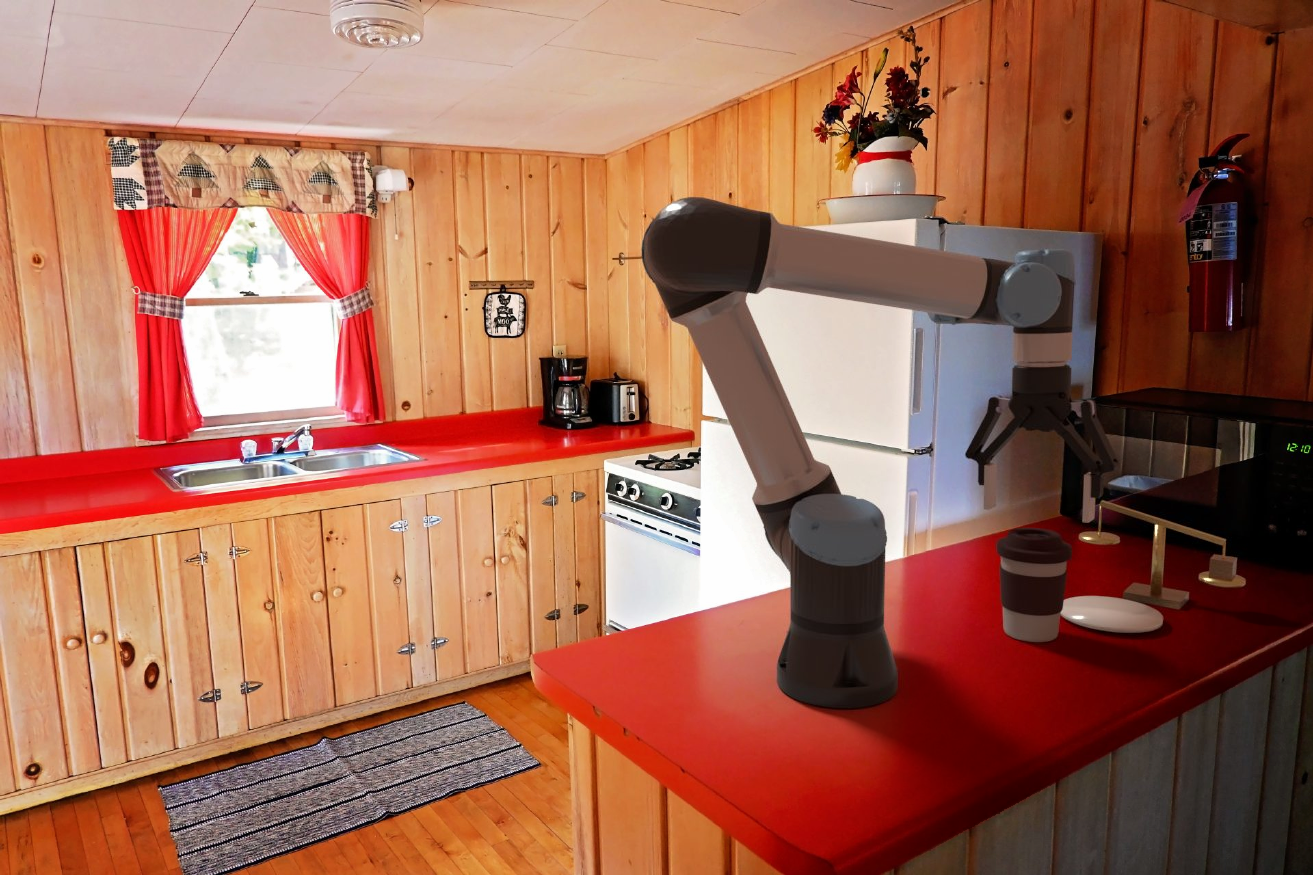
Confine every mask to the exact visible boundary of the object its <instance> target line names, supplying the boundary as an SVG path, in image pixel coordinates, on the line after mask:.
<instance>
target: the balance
mask: <svg viewBox="0 0 1313 875" xmlns="http://www.w3.org/2000/svg"><path fill="white" fill-rule="evenodd" d="M1102 508H1105V509H1108V510H1111V511H1114V512H1118V513H1121V514H1124V515H1127V516H1130V517H1132V518H1136V519H1139V520H1142V521H1145V522H1148V523H1151V524H1154V527H1153V528H1154V529H1153V540H1152V544H1153V545H1152V556H1151V557H1152V559H1151V575H1150V576H1151V577H1150V584H1144V583H1138V582H1133V583H1132V584H1130V585H1129V586H1128V587H1127V588H1126V589H1125V590H1124V591H1123V593H1122V599H1125V600H1130V601H1134V602H1138V603H1141V604H1148V605H1152V606H1158V607H1164V608H1168V609H1169V608H1170V609H1174V610H1175V609H1176V610H1179V611H1180V609H1181V608H1182V607H1183V606H1184V605H1185V604H1187V602H1188V601H1189V598H1190V592H1189V591H1184V590H1180V589H1179V590H1178V589H1173V588H1168V587H1163V584H1164V583H1163V581H1164V580H1163V579H1164V566H1165V565H1164V563H1165V548H1166V547H1165V546H1166V531H1167V529H1170V530H1173V531H1176V532H1180V533H1183V534H1185V535H1189V536H1192V537H1193V538H1199V539H1201V540H1204V541H1208V542H1211V543H1214V544H1216V545H1219V546H1222V554H1215V553H1214V554H1213V555H1212V556H1211V557H1210V558H1209V567H1208V568H1209V569H1208V571H1203V572H1200V573H1199V574H1198V580H1199V581H1200V582H1202V583H1205V584H1207V585H1210V586H1215V587H1221V588H1242V587H1245V585H1246V581H1247V580H1246V578H1244V577H1243V576H1241V575H1238V574H1237V562H1238V557H1236V556H1235V557H1234V556H1228V555H1226V545H1227V542H1226V541H1227V539H1226V538H1223V537H1220V536H1216V535H1214V534H1210V533H1207V532H1204V531H1201V530H1198V529H1194V528H1192V527H1187V526H1185V525H1182V524H1178V523H1176V522H1172V521H1170V520H1166V519H1163V518H1160V517H1157V516H1153V515H1150V514H1148V513H1147V514H1146V513H1144V512H1141V511H1138V510H1135V509H1131V508H1129V507H1126V506H1122V505H1119V504H1115V503H1113V502H1110V501H1106V500H1104V499H1103V500H1101V501H1100V503H1099V517H1098V531H1083V532H1081V533H1079V534H1078V540H1080V541H1081V542H1084V543H1087V544H1088V543H1089V544H1092V545H1100V546H1101V545H1104V546H1108V545H1109V546H1112V545H1118V544H1119V543H1120V542H1121V540H1120V539H1121V538H1120V536H1119V535H1116V534H1114V533H1110V532H1105V531H1104V532H1103V531H1101V529H1102V513H1103V512H1102V511H1103V510H1102Z"/></svg>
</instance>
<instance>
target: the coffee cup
mask: <svg viewBox="0 0 1313 875" xmlns="http://www.w3.org/2000/svg"><path fill="white" fill-rule="evenodd" d="M996 553H997V554H998V556H1000V565H999V582H1000V583H999V584H1000V587H999V588H1000V590H999V591H1000V604H1001V606H1002V621H1003V622H1002V623H1003V624H1002V625H1003V631H1004V632H1005V634H1006V635H1008V636H1009V637H1010V638H1013V639H1016V640H1019V641H1023V642H1028V643H1029V642H1030V643H1046V642H1050V641H1054V640H1055V639H1057V637H1058V635H1059V630H1060V629H1059V627H1060V619H1061V615H1060V613H1061V611H1062V609H1063V602H1064V600H1065V594H1066V593H1065V592H1066V586H1067V576H1068V571H1067V562H1068V561H1070V560H1071V559H1072V557H1073V547H1072V545H1071V543H1070V544H1069V543H1068V542H1066V541H1063V539H1062V537H1061V535H1060V533H1059V532H1056V531H1054V530H1050V529H1045V528H1040V527H1039V528H1037V527H1020V528H1019V527H1018V528H1013V529H1011V530H1010V531H1008V534H1007V535H1006V536H1004V537H1002V538H999V539H998V540H997V541H996Z"/></svg>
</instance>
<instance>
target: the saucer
mask: <svg viewBox="0 0 1313 875" xmlns="http://www.w3.org/2000/svg"><path fill="white" fill-rule="evenodd" d="M1060 617H1062V618H1064V619H1065V620H1067V621H1069V622H1071V623H1073V624H1075V625H1079V626H1082V627H1085V628H1089V629H1093V630H1098V631H1105V632H1111V633H1121V634H1122V633H1123V634H1124V633H1125V634H1126V633H1127V634H1137V633H1145V632H1146V633H1148V632H1152V631H1155V630H1158V629H1161V627H1162V626H1163V623H1164V622H1163V621H1164V616H1163V615H1162V613H1161V612H1160V611H1158V610H1157V609H1155V608H1153V607H1151V606H1149V605H1146V604H1145V603H1141V602H1136V601H1131V600H1125V599H1123V598H1119V597H1113V596H1112V597H1111V596H1103V595H1102V596H1101V595H1100V596H1099V595H1082V596H1074V597H1069V598H1066V599H1065V598H1064V602H1063V609H1062V611H1061V613H1060Z"/></svg>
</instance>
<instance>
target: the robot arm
mask: <svg viewBox="0 0 1313 875" xmlns="http://www.w3.org/2000/svg"><path fill="white" fill-rule="evenodd" d="M644 232H645V233H644V234H643V239H642V241H641V249H640V250H641V260H642V265H643V268H644V270H645V274H647V276H648V278H649V279H650V280H651V281H652V283H653V284H654V285H655V287H656V289H657V292H658V294H659V296H660V298H661V301H662V303H663V305H664V307H665V309H666V311H667V313H668V316H669V319H670V320H671V321H672V322H674V323H676V324H678V325H680V326H684V327H686V329H687V330H688V333H689V335H690V337H691V340H692V342H693V344H694V346H695V348H696V350H697V352H698V355H699V357H700V359H701V361H702V365H703V366H704V369H705V370H706V373H707V375H708V377H709V380H710V381H711V384H712V386H713V390H714V391H715V393H716V396H717V397H718V399H719V402H720V404H721V407H722V408H723V411H724V413H725V415H726V418H727V420H728V422H729V425H730V426H731V429H732V431H733V434H734V435H735V438H736V440H737V443H738V445H739V446H740V449H741V451H742V453H743V456H744V458H745V460H746V463H747V465H748V467H749V469H750V472H751V473H752V476H753V478H754V480H755V483H756V487H755V489H754V492H753V495H752V497H751V500H752V502H753V505H754V507H755V509H756V511H757V514H758V515H759V518H760V521H761V522H762V524H763V530H764V535H765V539H766V540H767V543H768V545H769V547H770V549H772V550H771V551H773V552H774V553H775V555H776V556H777V557H778V558H779V559H780V561H781V562H782V563H783V564H784V566H785V567H786V569H787V571H788V572H789V577H790V579H789V580H790V581H789V582H790V585H789V586H790V587H789V588H790V595H789V596H790V598H789V599H790V606H789V607H790V624H789V627H788V630H787V633H786V636H785V639H784V641H783V644H782V648H781V651H780V653H779V656H778V659H777V662H776V663H777V664H776V683H777V686H778V687H779V689H780V690H781V692H783V693H785V694H786V695H787V696H789V697H790V698H793V699H795V700H797V701H800V702H802V703H806V704H810V705H813V706H819V707H825V708H831V709H859V708H866V707H871V706H875V705H879V704H881V703H884V702H887V701H888V700H889V699H891V698H893V697H894V696H895V694H896V693H897V691H898V683H899V682H898V679H899V678H898V676H899V674H898V672H899V671H898V667H897V664H896V661H895V658H894V654H893V651H892V648H891V646H890V642H889V638H888V635H887V632H886V630H885V597H886V596H885V593H886V592H885V588H886V582H885V581H886V546H887V543H888V535H887V530H886V521H885V520H886V519H885V515H884V513H883V512H882V511H881V509H880V508H879V507H878V506H877V505H876V504H874V503H873V502H872V501H869V500H867V499H864V498H857V497H856V496H854V495H853V496H852V495H851V494H850V495H848V494H844V493H843V494H842V492H841V490H840V488H839V485H838V483H837V481H836V479H835V476H834V474H833V471H832V469H831V467H830V466H829V465H828V464H826V463H824V462H820V461H818V460H817V459H815V458H814V456H813V454H812V453H813V452H812V451H811V449H810V446H809V444H808V442H807V440H806V437H805V435H804V433H803V430H802V428H801V425H800V424H799V421H798V419H797V416H796V415H795V412H794V409H793V408H792V405H791V403H790V401H789V398H788V395H787V393H786V391H785V389H784V387H783V385H782V382H781V380H780V377H779V374H778V373H777V370H776V369H775V368H776V367H775V365H774V363H773V361H772V359H771V356H770V355H769V352H768V349H767V348H766V345H765V343H764V340H763V338H762V336H761V333H760V330H759V328H758V326H757V325H756V321H755V320H754V317H753V315H752V313H751V310H750V308H749V306H748V304H747V296H748V294H752V295H753V294H754V295H758V294H760V293H761V292H762V291H764V290H765V289H767V288H768V289H769V288H770V289H776V290H783V291H789V292H795V293H801V294H802V293H803V294H806V295H807V294H808V295H813V296H822V297H825V298H826V297H827V298H833V299H839V300H840V299H841V300H846V301H853V302H858V303H859V302H860V303H864V304H865V303H866V304H872V305H878V306H884V307H891V308H896V309H904V310H911V311H917V312H923V313H927V315H928V317H929V319H930V320H931V322H933V323H935V324H937V325H952V326H955V325H958V324H961V325H962V324H976V325H978V324H979V325H993V326H997V325H998V326H999V325H1000V326H1007V327H1013V328H1012V332H1013V333H1012V334H1013V336H1012V338H1013V339H1012V361H1014V362H1015V363H1016V365H1013V367H1012V369H1011V370H1012V374H1011V378H1012V379H1011V392H1012V393H1011V397H1010V398H1005V397H1003V396H1002V395H996V396H992V397H989V399H988V402H987V411H986V413H985V415H984V417H983V419H982V421H981V423H980V425H979V426H978V428H977V431H976V432H975V433H974V437H973V438H972V440H971V442H970V443H969V446H968V447H967V449H966V451H965V454H964V455H965V457H966V459H968V460H973V461H974V462H976V463H977V465H978V466H977V467H978V470H977V471H978V473H977V474H978V475H977V482H978V485H979V486H983V510H986V511H990V510H992V509H993V508H995V507H997V474H998V472H997V469H998V466H997V465H998V462H992V461H993V460H994V458H995V457H996V456H997V455H998V453H1000V451H1001V450H1003V448H1005V446H1006V445H1007V444H1008V443H1009V442H1010V441H1011V440H1012V439H1013V438H1014V437H1015V436H1016V435H1017V434H1018V433H1019V432H1020V431H1021V430H1022V429H1024V430H1025V431H1029V432H1032V431H1040V432H1043V433H1044V432H1045V433H1050V432H1052V431H1055V433H1056V434H1057V435H1058V436H1059V437H1061V438H1062V439H1063V440H1064V442H1065V443H1066V444H1067V445H1068V447H1069V448H1070V449H1071V450H1072V452H1073V453H1074V454H1075V455H1076V457H1077V458H1078V459H1079V460H1080V461H1081V463H1082V464H1083V465H1084V466H1085V467H1086V469H1087V470H1088V471H1089V472H1087V473H1085V474H1083V496H1082V523H1088V524H1089V523H1090V522H1091V521H1093V520H1095V514H1096V513H1095V512H1096V499H1099V498H1101V497H1102V496H1103V494H1104V481H1105V474H1106V473H1112V472H1113V471H1115V470H1117V469H1120V468H1119V467H1120V466H1121V465H1120V464H1121V462H1120V461H1119V459H1118V457H1117V455H1116V453H1115V451H1114V449H1113V447H1112V445H1111V442H1110V440H1109V438H1108V436H1107V434H1106V432H1105V430H1104V428H1103V426H1102V423H1101V422H1100V420H1099V418H1098V414H1097V404H1096V401H1095V400H1094V399H1087V400H1085V401H1073V400H1072V398H1071V393H1072V392H1071V391H1072V367H1071V366H1070V365H1069V364H1067V362H1071V361H1072V357H1073V356H1072V354H1073V353H1072V352H1073V326H1074V324H1073V323H1074V305H1075V304H1074V302H1075V300H1074V298H1075V286H1076V273H1075V272H1076V271H1075V257H1074V254H1073V253H1072V252H1071V250H1068V249H1065V248H1054V249H1052V248H1050V249H1033V250H1022V251H1018V252H1017V253H1016V254H1015V258H1014V262H1012V261H1006V260H999V259H995V258H986V257H985V258H984V257H980V256H978V255H977V256H976V255H970V254H964V253H959V252H953V251H946V250H941V249H935V248H928V247H922V246H917V245H911V244H904V243H898V242H893V241H892V242H891V241H887V240H882V239H881V240H880V239H875V238H869V237H863V236H862V237H861V236H857V235H852V234H851V235H850V234H843V233H839V232H832V231H826V230H820V229H815V228H809V227H803V226H796V225H789V224H784V223H780V222H779V221H778V220H777V218H776V217H775V216H774V214H773V213H772V212H767V211H760V210H756V209H755V210H754V209H751V208H746V207H742V206H738V205H734V204H729V203H726V202H722V201H720V200H719V201H718V200H715V199H711V198H707V197H703V196H697V197H696V196H689V197H683V198H682V197H681V198H680V199H677V200H675V201H672V202H670V203H669V204H668V205H666V206H665V207H663V208H662V209H661V210H660V211H659V212H658V213H657V215H656V216H655V217H654V218H653V219H652V221H650V223H649V225H648V226H647V228H646V229H645V231H644ZM1007 408H1009V410H1010V413H1012V415H1013V416H1014V417H1013V419H1011V420H1010V421H1009V423H1008V424H1006V427H1005V428H1004V429H1003V430H1002V431H1001V432H1000V433H999V435H997V437H996V438H994V440H993V441H992V442H991V443H990V444H989V445H988V446H987V447H986V448H985V449H984V447H985V445H986V443H987V440H989V438H990V436H991V434H992V432H993V429H994V428H995V426H996V424H997V423H998V421H999V419H1000V417H1001V415H1002V413H1004V412H1006V410H1007ZM1073 411H1074V412H1075V413H1076V415H1077V416H1078V417H1079V418H1081V419H1082V423H1083V425H1084V428H1085V430H1086V432H1087V434H1088V436H1089V439H1090V440H1091V442H1092V444H1093V446H1094V449H1095V450H1096V453H1097V455H1098V456H1097V455H1096V454H1095V452H1094V451H1093V450H1092V448H1091V447H1090V446H1089V445H1088V444H1087V442H1086V441H1085V440H1084V439H1083V438H1082V437H1081V435H1080V434H1079V433H1078V432H1077V430H1076V429H1075V426H1074V424H1073V423H1072V422H1071V421H1070V420H1069V416H1070V415H1071V413H1073ZM983 449H984V451H982V450H983Z"/></svg>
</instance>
